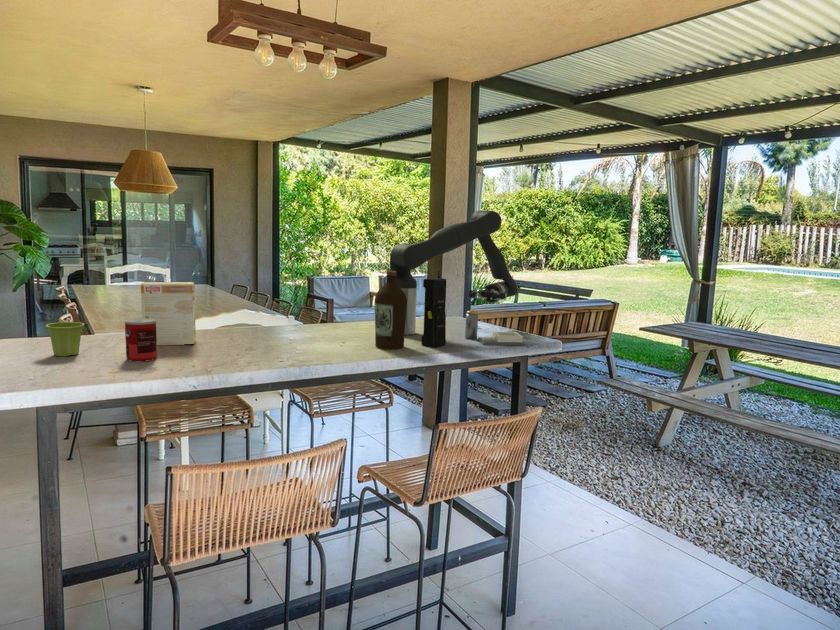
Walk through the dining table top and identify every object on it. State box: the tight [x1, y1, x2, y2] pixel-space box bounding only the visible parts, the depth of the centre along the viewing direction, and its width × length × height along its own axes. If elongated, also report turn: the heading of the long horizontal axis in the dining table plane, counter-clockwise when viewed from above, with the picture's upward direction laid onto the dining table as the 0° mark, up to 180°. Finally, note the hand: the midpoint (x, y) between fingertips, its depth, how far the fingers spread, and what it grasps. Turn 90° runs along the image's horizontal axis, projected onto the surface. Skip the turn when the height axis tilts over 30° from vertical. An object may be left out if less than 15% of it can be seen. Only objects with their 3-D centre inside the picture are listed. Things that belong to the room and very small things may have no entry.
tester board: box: [477, 331, 524, 346], centre depth 209 cm, size 14×9×3 cm, turn 97°
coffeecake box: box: [140, 281, 197, 346], centre depth 187 cm, size 15×7×20 cm, turn 105°
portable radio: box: [420, 270, 447, 348], centre depth 198 cm, size 8×6×25 cm
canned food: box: [124, 317, 158, 362], centre depth 165 cm, size 8×8×11 cm
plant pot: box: [45, 321, 85, 357], centre depth 167 cm, size 9×9×9 cm
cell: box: [464, 309, 479, 341], centre depth 214 cm, size 4×4×11 cm
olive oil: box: [374, 270, 407, 350], centre depth 193 cm, size 11×11×25 cm
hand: (482, 296), depth 223 cm, fingers open, 8 cm apart
